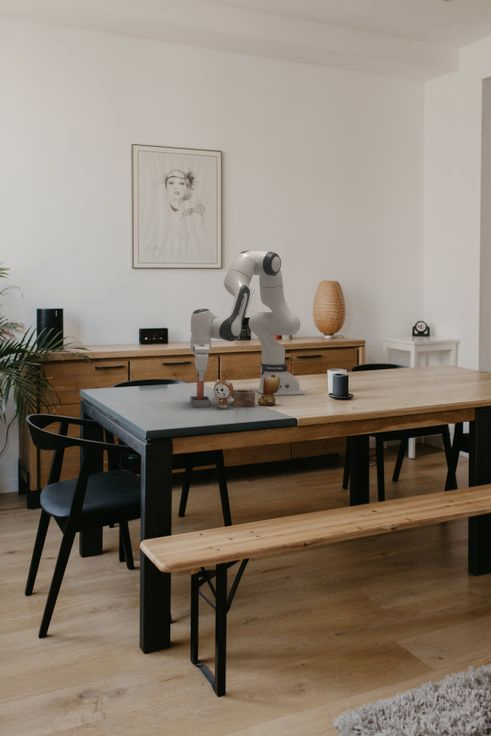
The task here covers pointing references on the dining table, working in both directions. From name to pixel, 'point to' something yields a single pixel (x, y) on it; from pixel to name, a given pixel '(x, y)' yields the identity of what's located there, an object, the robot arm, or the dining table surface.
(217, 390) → the figurine
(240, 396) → the hitch block
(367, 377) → the dining table surface
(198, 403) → the tray
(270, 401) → the figurine
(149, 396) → the dining table surface
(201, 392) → the pin
